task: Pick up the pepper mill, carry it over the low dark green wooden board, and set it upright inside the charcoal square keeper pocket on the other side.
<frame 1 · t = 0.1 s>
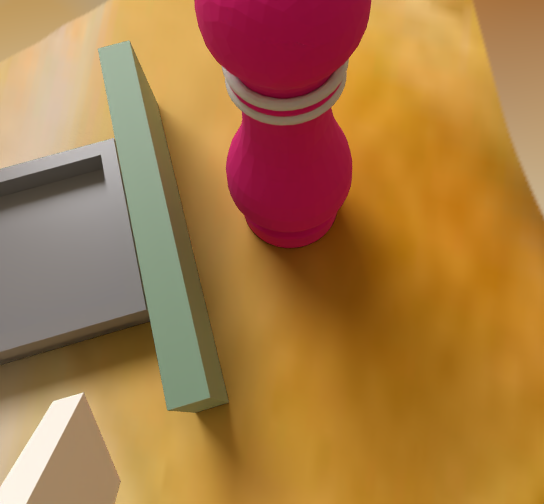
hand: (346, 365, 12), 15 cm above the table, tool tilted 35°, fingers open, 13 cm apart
pepper mill: (290, 206, 31), on the table
keeper pocket: (53, 258, 30), on the table
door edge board: (173, 238, 30), on the table
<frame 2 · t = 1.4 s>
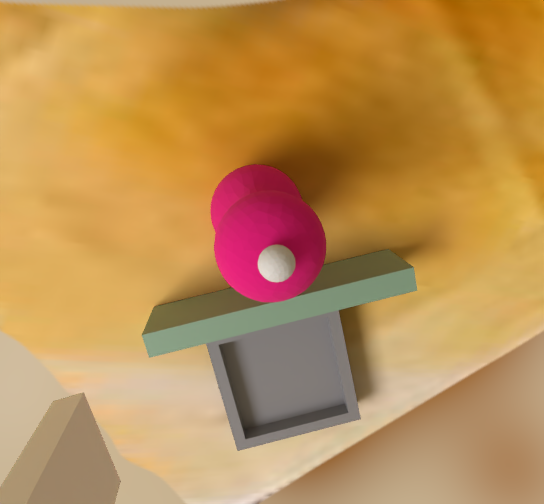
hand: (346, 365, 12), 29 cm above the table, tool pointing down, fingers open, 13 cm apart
pepper mill: (254, 203, 40), on the table
keeper pocket: (282, 366, 44), on the table
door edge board: (274, 287, 42), on the table
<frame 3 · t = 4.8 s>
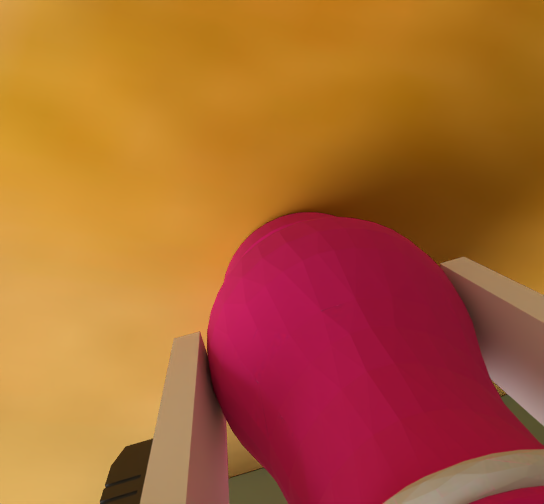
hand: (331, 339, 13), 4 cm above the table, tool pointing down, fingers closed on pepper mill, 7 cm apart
pepper mill: (304, 290, 18), on the table, touching gripper
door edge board: (347, 463, 19), on the table
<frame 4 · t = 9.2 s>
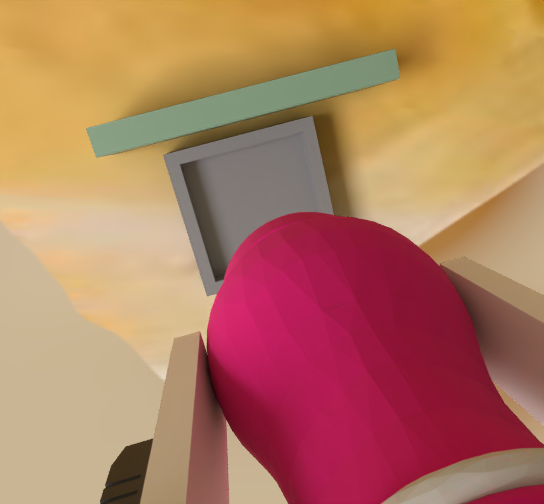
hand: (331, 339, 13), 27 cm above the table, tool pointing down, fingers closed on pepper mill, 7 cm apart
pepper mill: (304, 290, 18), point 23 cm above the table, touching gripper
keeper pocket: (255, 204, 40), on the table
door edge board: (242, 107, 37), on the table
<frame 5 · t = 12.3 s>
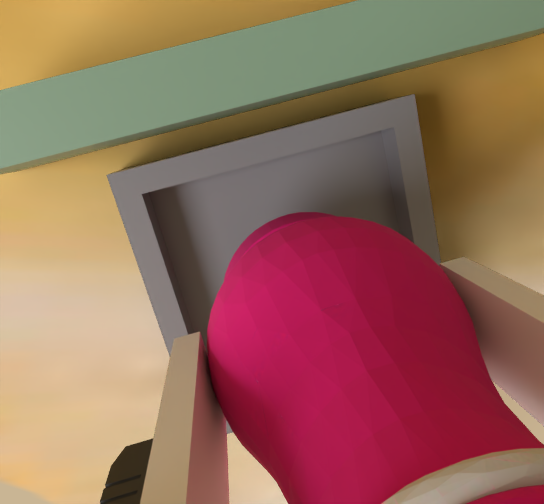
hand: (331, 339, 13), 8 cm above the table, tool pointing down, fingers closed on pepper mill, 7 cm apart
pepper mill: (304, 290, 18), point 4 cm above the table, touching gripper
keeper pocket: (290, 263, 21), on the table
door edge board: (268, 80, 19), on the table
when the fingers open (7 cm above the table, at t = 13.6 s): pepper mill drops 1 cm, resting on keeper pocket.
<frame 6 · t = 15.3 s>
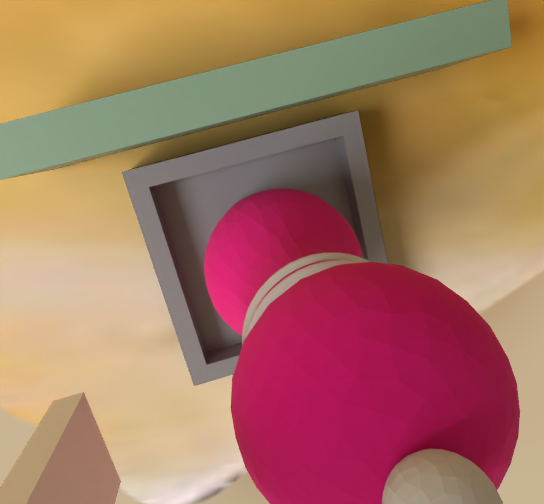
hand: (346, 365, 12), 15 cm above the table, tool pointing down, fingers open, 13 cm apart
pepper mill: (269, 246, 26), point 1 cm above the table, touching keeper pocket
keeper pocket: (266, 244, 26), on the table
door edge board: (247, 98, 24), on the table
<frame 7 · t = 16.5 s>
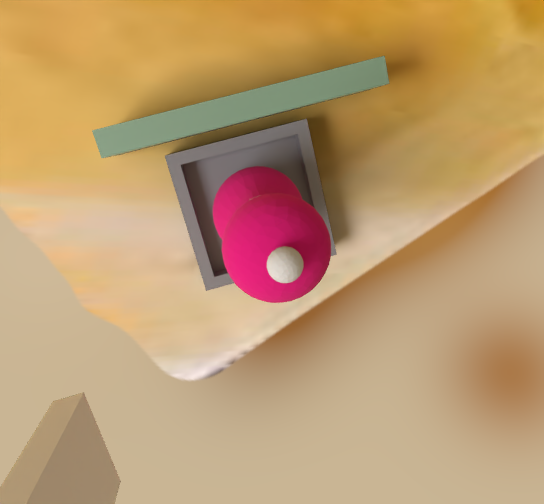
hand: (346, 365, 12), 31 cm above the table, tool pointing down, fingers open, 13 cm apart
pepper mill: (254, 203, 41), point 1 cm above the table, touching keeper pocket
keeper pocket: (252, 203, 41), on the table
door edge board: (240, 110, 39), on the table
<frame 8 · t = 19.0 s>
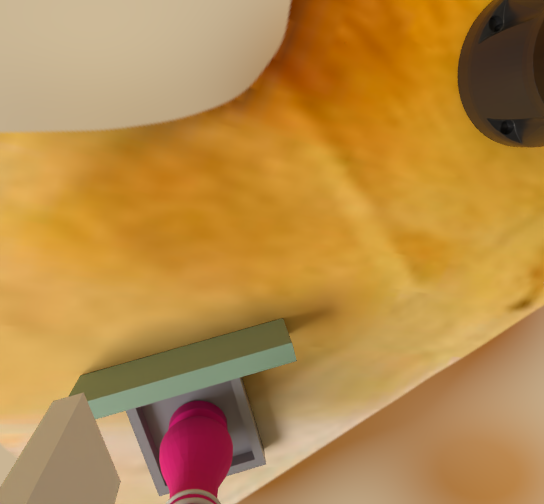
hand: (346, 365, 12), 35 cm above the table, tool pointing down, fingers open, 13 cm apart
pepper mill: (198, 424, 50), point 1 cm above the table, touching keeper pocket
keeper pocket: (198, 420, 51), on the table
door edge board: (185, 354, 49), on the table
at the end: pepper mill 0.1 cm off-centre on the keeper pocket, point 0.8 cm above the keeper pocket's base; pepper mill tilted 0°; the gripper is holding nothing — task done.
